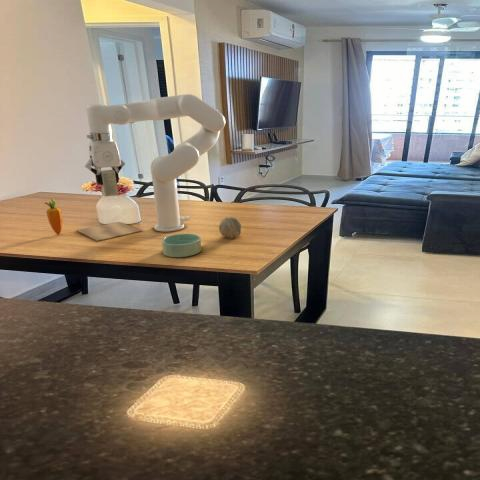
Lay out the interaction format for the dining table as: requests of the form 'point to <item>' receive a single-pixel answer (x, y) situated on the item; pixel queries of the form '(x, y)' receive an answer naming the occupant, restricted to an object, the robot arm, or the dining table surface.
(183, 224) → the robot arm
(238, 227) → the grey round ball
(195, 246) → the bowl
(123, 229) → the mat
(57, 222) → the carrot
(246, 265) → the dining table surface
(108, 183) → the grey rectangular block
